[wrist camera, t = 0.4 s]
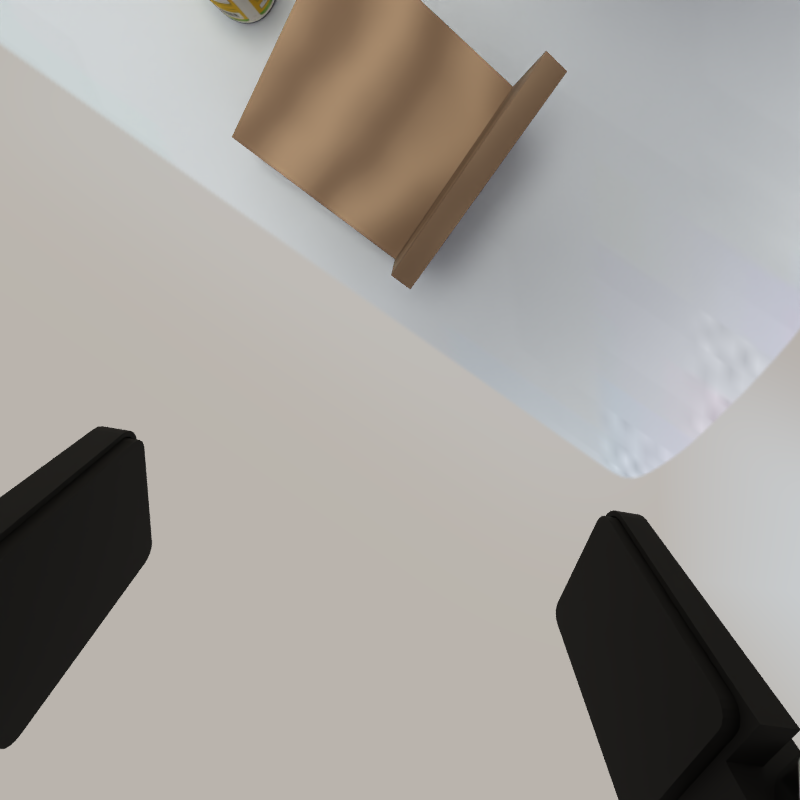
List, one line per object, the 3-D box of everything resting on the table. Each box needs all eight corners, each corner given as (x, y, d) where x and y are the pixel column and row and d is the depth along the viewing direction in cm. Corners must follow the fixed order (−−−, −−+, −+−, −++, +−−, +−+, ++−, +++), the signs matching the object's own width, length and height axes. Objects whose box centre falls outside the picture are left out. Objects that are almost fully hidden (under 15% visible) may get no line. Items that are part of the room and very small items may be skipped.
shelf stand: (258, 146, 37) (178, 118, 24) (346, -33, 32) (305, -187, 19) (410, 260, 40) (410, 289, 28) (510, 116, 36) (567, 71, 23)
